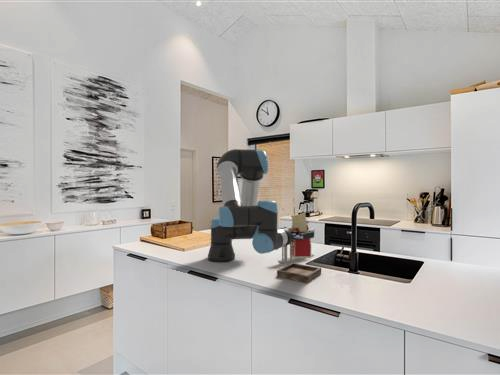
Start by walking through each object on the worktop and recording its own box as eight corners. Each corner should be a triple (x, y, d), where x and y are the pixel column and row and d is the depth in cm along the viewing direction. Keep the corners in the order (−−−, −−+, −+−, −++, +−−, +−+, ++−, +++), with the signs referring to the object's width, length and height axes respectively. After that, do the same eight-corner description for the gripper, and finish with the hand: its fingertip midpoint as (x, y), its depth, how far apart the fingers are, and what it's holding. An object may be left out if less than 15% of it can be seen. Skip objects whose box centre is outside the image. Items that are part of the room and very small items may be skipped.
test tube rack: (283, 263, 154) (283, 238, 153) (277, 262, 157) (277, 237, 157) (314, 255, 169) (314, 233, 169) (308, 254, 173) (308, 232, 173)
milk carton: (307, 253, 139) (307, 211, 139) (312, 258, 130) (312, 213, 130) (288, 253, 139) (288, 211, 139) (291, 258, 130) (291, 213, 129)
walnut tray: (276, 276, 133) (277, 270, 133) (292, 268, 146) (292, 262, 145) (307, 283, 125) (307, 276, 125) (321, 273, 137) (321, 268, 137)
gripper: (257, 243, 126) (283, 236, 144) (305, 250, 113) (326, 241, 132) (257, 226, 126) (283, 220, 144) (305, 231, 113) (326, 224, 131)
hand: (303, 230), depth 138 cm, fingers closed on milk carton, 9 cm apart
